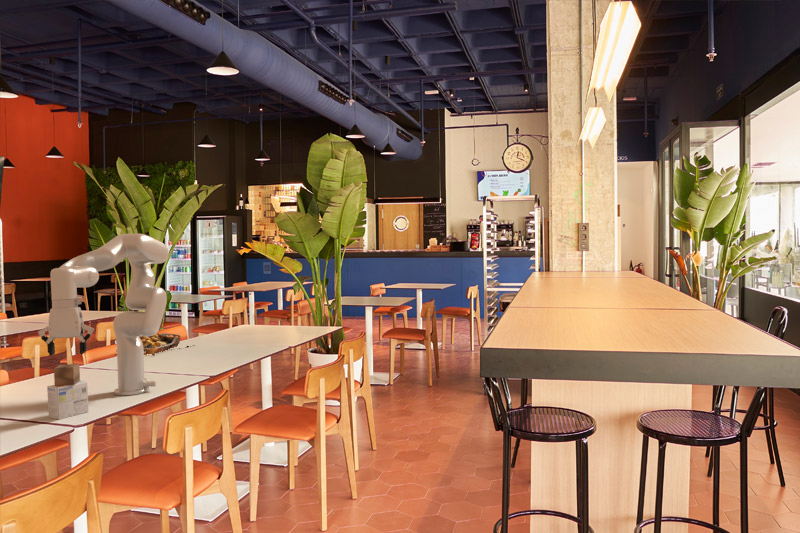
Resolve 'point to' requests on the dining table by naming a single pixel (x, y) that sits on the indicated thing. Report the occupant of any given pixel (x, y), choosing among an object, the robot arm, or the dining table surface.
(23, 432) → the dining table surface
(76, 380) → the walnut cube
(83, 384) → the light bulb box
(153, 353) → the food tray
